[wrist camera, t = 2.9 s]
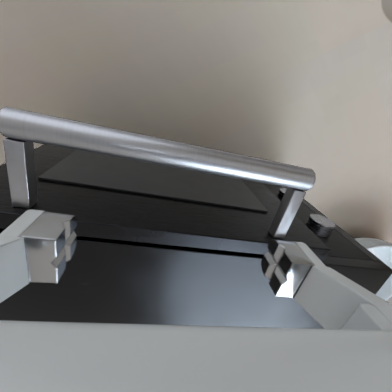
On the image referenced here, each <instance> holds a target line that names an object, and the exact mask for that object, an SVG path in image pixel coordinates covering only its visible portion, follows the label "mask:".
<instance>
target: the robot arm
mask: <svg viewBox="0 0 392 392" xmlns="http://www.w3.org/2000/svg"><path fill="white" fill-rule="evenodd" d="M76 226H77V217H76V215H71V214H64V213H57V212H50V211H43V210H34V209H29V210H27V211H25V212H24V213H23V214H22V215H21V216H20V217H19V218H17V219H16V220H15V221H14V222H13V223H12V224H11V225H9V226H8V227H7V228H6V229H5V230H4V231H3V232H1V233H0V303H1V302H3V301H4V300H6V299H7V298H8V297H10V296H11V295H13V294H14V293H16V292H17V291H19V290H20V289H22V288H23V287H25V286H26V285H28V284H29V282H41V283H58V282H59V280H60V278H61V276H62V274H63V273H64V271H65V269H66V262H67V261H69V260H71V258H72V256H73V254H74V251H75V248H76V244H77V234H76V233H75V232H74V229H75V228H76ZM267 247H268V250H269V251H268V252H266V253H265V254H264V255H263V257H262V260H261V268H262V271H263V273H264V275H265V276H266V277H267V278H268V279H270V281H269V285H270V287H271V289H272V290H273V292H274V294H275V296H279V297H290V298H293V299H294V300H295V301H296V302H297V303H298V304H299V305H300V306H301V307H302V308H304V309H305V310H306V311H307V312H308V313H309V314H310V315H311V316H312V317H313V318H314V319H315V320H316V321H317V322H318V323H319V324H320V325H321V326H322V327H323V328H324V329H310V328H272V327H235V326H198V325H160V324H120V323H80V322H43V321H7V320H0V392H392V304H390V303H388V302H387V301H385V300H384V299H382V298H380V297H379V296H377V295H375V294H374V293H372V292H370V291H369V290H367V289H365V288H363V287H362V286H360V285H358V284H357V283H355V282H353V281H352V280H350V279H348V278H347V277H345V276H343V275H342V274H340V273H338V272H337V271H335V270H333V269H332V268H330V267H326V266H325V265H324V263H323V262H322V261H321V260H320V259H319V258H318V257H317V256H316V255H315V254H314V252H313V251H312V250H311V249H310V248H309V247H308V246H307V245H306V244H305V243H303V242H295V241H283V240H273V239H272V240H271V241H270V242H269V244H268V246H267Z"/></svg>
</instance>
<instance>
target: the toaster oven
mask: <svg viewBox="0 0 392 392" xmlns="http://www.w3.org/2000/svg"><path fill="white" fill-rule="evenodd" d="M263 184H264V185H265V186H266V187H267V188H268V189H269V190H270V191H271V192H272V193H273V194H274V195H275V196H276V197H277V198H278V199H279V200H280V201H282V198H283V196H284V194H285V192H286V189H287V187H282V186H276V185H271V184H265V183H263ZM296 216H297V217H298V218H299V219H300V220H301V221H302V222H303V223H304V224H305V225H306V226H307V227H308V228H309V229H310V230H311V231H312V232H313V233H314V234H315V235H316V236H317V237H318V238H319V239H320V240H321V241H322V242H323V243H324V244H325V245H326V246H327V247H329V248H330V249H331V251H330V253H329V254H328V256H327V258H326V259H325V261H322V262H323V263H324V265H325V266H326V267H330V268H332V269H333V270H335V271H337V272H338V273H340V274H342V275H343V276H345V277H347V278H348V279H350V280H352V281H353V282H355V283H357V284H358V285H360V286H362V287H363V288H365V289H367V290H369V291H370V292H372V293H374V294H375V295H376V293H377V292H378V291H379V289H380V288H381V287H382V286H383V284H384V283H385V282H386V281H387V279H388V278H389V277H390V276H391V274H392V269H391V268H390V267H389V266H387V265H386V264H385V263H384V262H382V261H381V260H380V259H379V258H377V257H376V256H375V255H374V254H372V253H371V252H370V251H369V250H367V249H366V248H365V247H364V246H362V245H361V244H360V243H359V242H357V241H356V240H355V239H354V238H352V237H351V236H350V235H348V234H347V233H346V232H345V231H343V230H342V229H341V228H340V227H338V226H337V225H336V224H335V223H334V222H333V221H331V220H330V219H328V218H327V217H326V216H325V215H323V214H322V213H321V212H320V211H318V210H317V209H316V208H315V207H313V206H312V205H311V204H310V203H308V202H307V201H306V200H305V199H303V200H302V202H301V204H300V207H299V209H298V211H297V213H296ZM4 230H5V229H3V228H0V233H1V232H3V231H4ZM262 257H263V255H261V254H251V253H241V252H231V251H222V250H212V249H202V248H192V247H182V246H172V245H162V244H152V243H142V242H132V241H122V240H112V239H102V238H92V237H82V236H77V244H76V248H75V251H74V254H73V256H72V258H71V260H69V261H67V262H66V269H65V271H64V273H63V274H62V276H61V278H60V280H59V282H58V283H41V282H29V284H28V285H26V286H25V287H23V288H22V289H20V290H19V291H17V292H16V293H14V294H13V295H11V296H10V297H8V298H7V299H6V300H4V301H3V302H1V303H0V320H7V321H43V322H80V323H120V324H160V325H198V326H235V327H272V328H310V329H324V328H323V327H322V326H321V325H320V324H319V323H318V322H317V321H316V320H315V319H314V318H313V317H312V316H311V315H310V314H309V313H308V312H307V311H306V310H305V309H304V308H302V307H301V306H300V305H299V304H298V303H297V302H296V301H295V300H294V299H293V298H290V297H279V296H275V294H274V292H273V290H272V289H271V287H270V285H269V281H270V279H268V278H267V277H266V276H265V275H264V273H263V271H262V268H261V260H262Z"/></svg>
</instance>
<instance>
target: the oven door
mask: <svg viewBox="0 0 392 392" xmlns="http://www.w3.org/2000/svg"><path fill="white" fill-rule="evenodd" d="M0 133H1V134H2V135H3V136H5V137H8V138H5V139H3V142H4V150H5V157H6V163H4V164H2V165H0V228H3V229H6V228H7V227H8V226H9V225H11V224H12V223H13V222H14V221H15V220H16V219H17V218H19V217H20V216H21V215H22V214H23V213H24V212H25V211H27V210H29V209H34V210H43V211H50V212H57V213H64V214H71V215H76V217H77V226H76V228H75V229H74V232H75V233H76V234H77V236H82V237H92V238H102V239H112V240H122V241H132V242H142V243H152V244H162V245H172V246H182V247H192V248H202V249H212V250H222V251H231V252H241V253H251V254H261V255H264V254H265V253H266V252H268V251H269V250H268V247H267V246H268V244H269V242H270V241H271V240H272V239H273V240H283V241H295V242H303V243H305V244H306V245H307V246H308V247H309V248H310V249H311V250H312V251H313V252H314V254H315V255H316V256H317V257H318V258H319V259H320V260H321V261H325V259H326V258H327V256H328V254H329V253H330V251H331V249H330V248H329V247H327V246H326V245H325V244H324V243H323V242H322V241H321V240H320V239H319V238H318V237H317V236H316V235H315V234H314V233H313V232H312V231H311V230H310V229H309V228H308V227H307V226H306V225H305V224H304V223H303V222H302V221H301V220H300V219H299V218H298V217H297V216H296V213H297V211H298V209H299V207H300V204H301V202H302V200H303V198H304V196H305V194H306V192H304V191H306V190H309V189H310V188H312V186H313V185H314V183H315V178H316V177H315V172H314V171H313V170H312V169H308V168H303V167H298V166H294V165H289V164H284V163H279V162H274V161H269V160H264V159H259V158H254V157H250V156H245V155H240V154H235V153H230V152H225V151H220V150H215V149H211V148H206V147H201V146H196V145H191V144H186V143H181V142H176V141H172V140H167V139H162V138H157V137H152V136H147V135H142V134H137V133H132V132H128V131H123V130H118V129H113V128H108V127H103V126H98V125H93V124H89V123H84V122H79V121H74V120H69V119H64V118H59V117H54V116H49V115H45V114H40V113H35V112H30V111H25V110H20V109H15V108H10V107H4V108H2V109H1V110H0ZM33 142H36V143H41V144H44V145H42V146H40V147H38V148H36V149H34V147H33ZM263 183H265V184H271V185H276V186H282V187H287V189H286V192H285V194H284V196H283V198H282V201H280V200H279V199H278V198H277V197H276V196H275V195H274V194H273V193H272V192H271V191H270V190H269V189H268V188H267V187H266V186H265V185H264V184H263ZM303 190H304V191H303Z"/></svg>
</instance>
